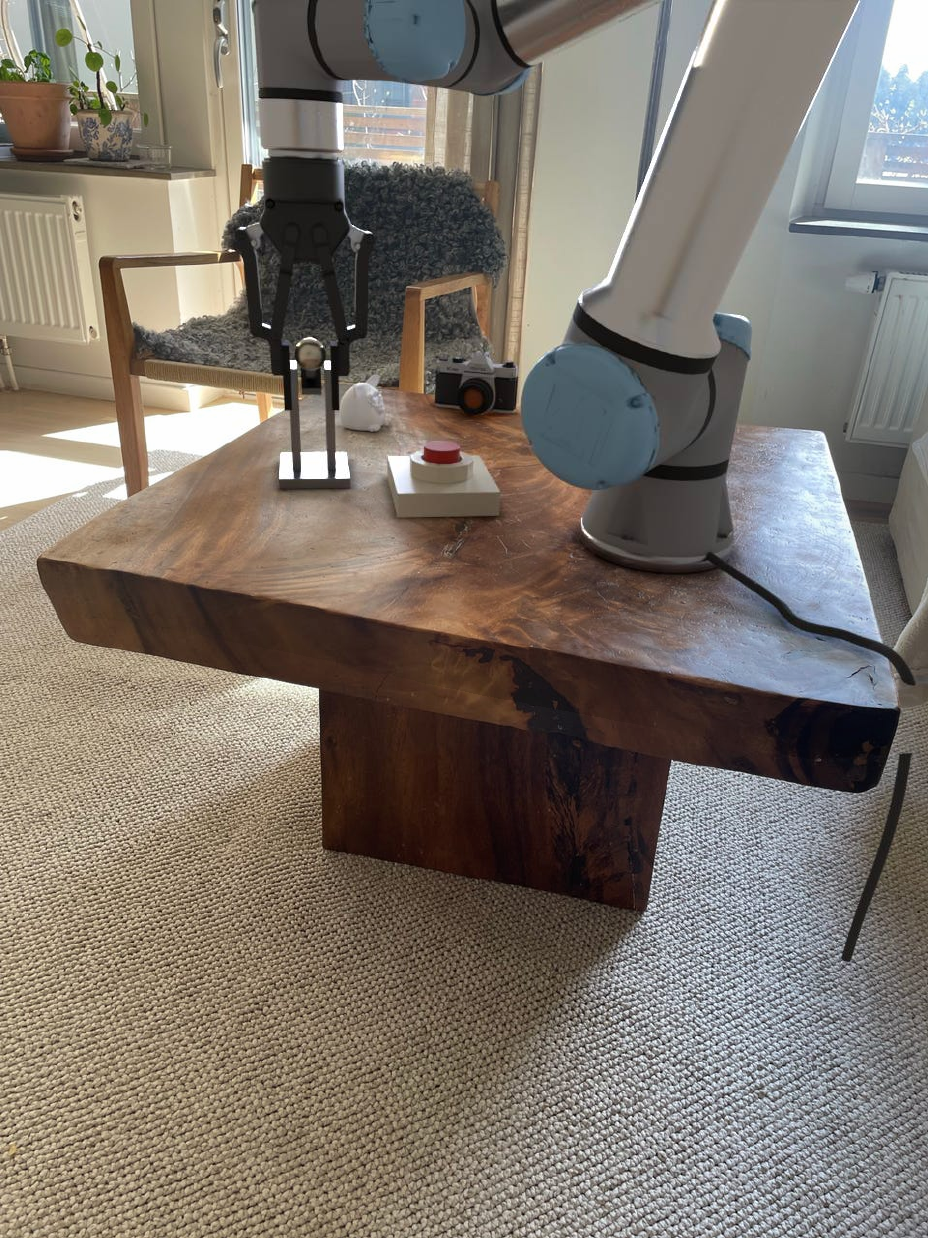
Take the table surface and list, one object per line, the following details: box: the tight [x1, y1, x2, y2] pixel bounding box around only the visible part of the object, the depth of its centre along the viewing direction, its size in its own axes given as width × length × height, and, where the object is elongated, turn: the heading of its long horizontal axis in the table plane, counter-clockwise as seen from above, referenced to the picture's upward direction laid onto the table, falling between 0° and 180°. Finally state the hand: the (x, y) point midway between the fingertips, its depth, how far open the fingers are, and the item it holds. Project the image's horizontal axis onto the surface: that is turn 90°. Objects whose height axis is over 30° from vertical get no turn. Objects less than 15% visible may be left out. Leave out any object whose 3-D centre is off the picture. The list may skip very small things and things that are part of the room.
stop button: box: [423, 440, 461, 464], centre depth 98 cm, size 4×4×2 cm
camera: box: [433, 350, 519, 417], centre depth 133 cm, size 13×8×9 cm, turn 81°
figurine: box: [338, 373, 390, 433], centre depth 123 cm, size 8×6×7 cm
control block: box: [386, 449, 501, 518], centre depth 100 cm, size 13×11×4 cm
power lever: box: [293, 337, 327, 396], centre depth 95 cm, size 13×3×3 cm, turn 9°
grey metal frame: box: [278, 360, 351, 490], centre depth 102 cm, size 10×8×13 cm
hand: (312, 406), depth 93 cm, fingers open, 4 cm apart
